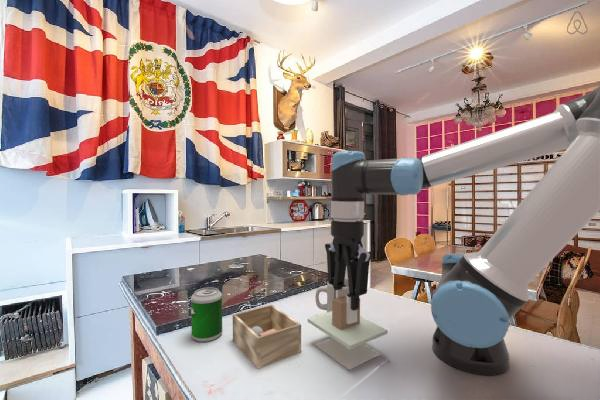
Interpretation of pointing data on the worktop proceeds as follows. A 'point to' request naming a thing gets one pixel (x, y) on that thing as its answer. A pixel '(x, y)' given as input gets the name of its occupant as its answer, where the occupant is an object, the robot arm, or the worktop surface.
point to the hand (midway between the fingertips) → (346, 319)
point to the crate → (266, 335)
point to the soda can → (206, 314)
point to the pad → (347, 352)
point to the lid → (346, 325)
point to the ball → (257, 330)
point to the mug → (328, 295)
